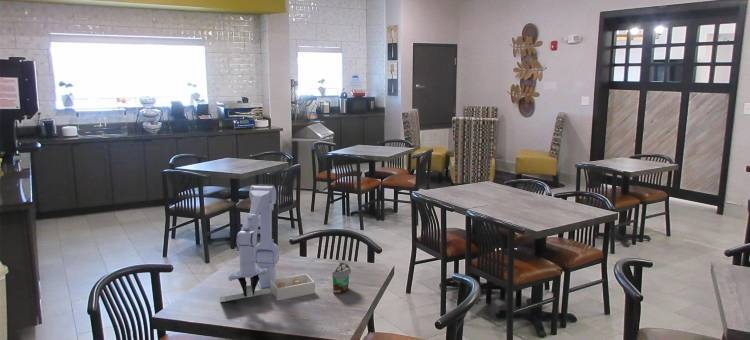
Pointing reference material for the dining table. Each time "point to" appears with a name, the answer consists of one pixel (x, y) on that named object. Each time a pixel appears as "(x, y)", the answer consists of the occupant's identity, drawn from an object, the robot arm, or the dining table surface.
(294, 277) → the tub
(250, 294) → the lid
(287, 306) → the dining table surface
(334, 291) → the food container
